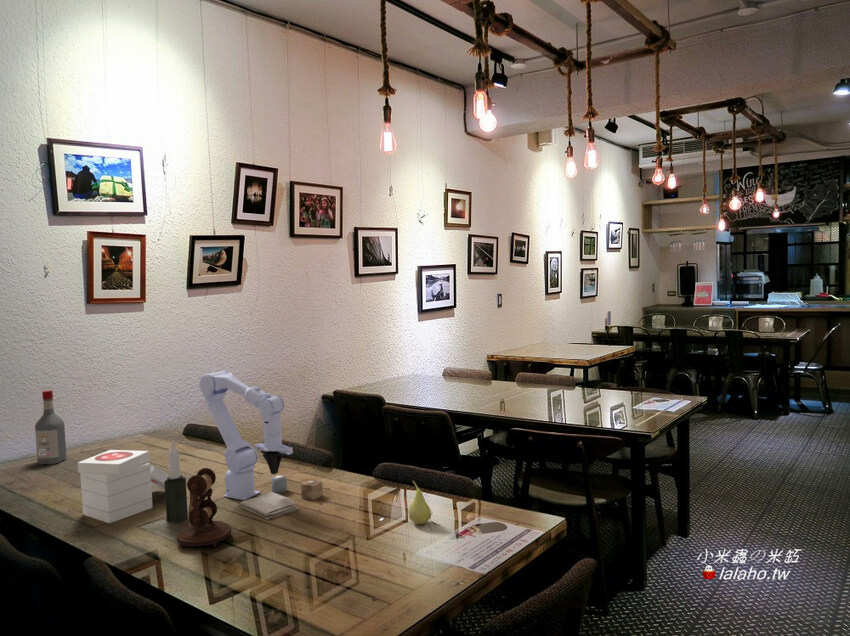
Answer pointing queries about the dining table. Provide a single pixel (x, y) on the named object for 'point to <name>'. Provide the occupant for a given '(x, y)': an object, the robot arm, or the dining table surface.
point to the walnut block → (311, 489)
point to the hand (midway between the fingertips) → (274, 473)
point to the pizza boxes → (118, 484)
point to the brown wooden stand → (202, 513)
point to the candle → (175, 490)
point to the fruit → (419, 509)
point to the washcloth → (269, 505)
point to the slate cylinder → (279, 484)
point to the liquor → (50, 434)
